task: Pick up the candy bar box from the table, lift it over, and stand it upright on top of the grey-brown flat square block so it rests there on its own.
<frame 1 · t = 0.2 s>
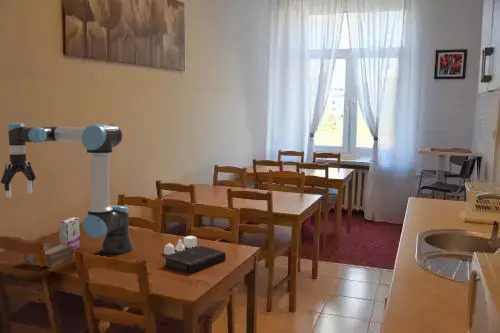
hand: (19, 195, 243), 28 cm above the table, tool pointing down, fingers open, 13 cm apart
container set: (179, 250, 245), on the table
diary: (194, 264, 225), on the table
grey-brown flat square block: (49, 260, 225), on the table
candy bar box: (70, 251, 241), on the table
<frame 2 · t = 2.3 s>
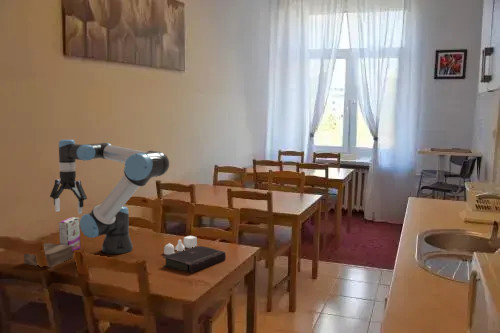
hand: (68, 212, 239), 20 cm above the table, tool pointing down, fingers open, 13 cm apart
nothing on the table moved.
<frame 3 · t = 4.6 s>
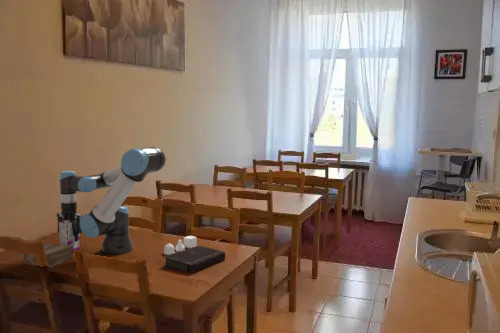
hand: (70, 246, 241), 2 cm above the table, tool pointing down, fingers closed on candy bar box, 5 cm apart
candy bar box: (70, 251, 241), on the table, touching gripper
everything else where it was.
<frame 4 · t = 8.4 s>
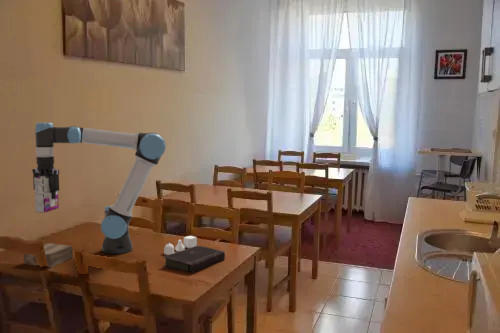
hand: (47, 205, 222), 27 cm above the table, tool pointing down, fingers closed on candy bar box, 5 cm apart
candy bar box: (47, 210, 223), point 24 cm above the table, touching gripper
everything else where it was.
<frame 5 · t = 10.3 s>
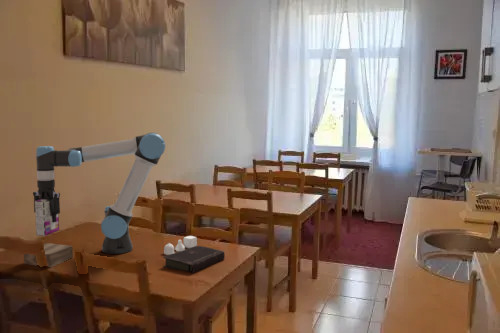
hand: (47, 228, 223), 16 cm above the table, tool pointing down, fingers closed on candy bar box, 5 cm apart
candy bar box: (47, 233, 224), point 13 cm above the table, touching gripper
everything else where it was.
when the fingers open (10 cm above the table, at t = 12.2 s): candy bar box drops 1 cm, resting on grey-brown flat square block.
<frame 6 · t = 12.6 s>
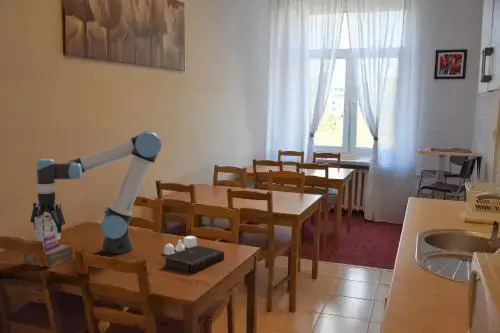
hand: (48, 238, 224), 11 cm above the table, tool pointing down, fingers open, 10 cm apart
candy bar box: (48, 248, 224), point 6 cm above the table, touching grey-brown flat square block
everything else where it was.
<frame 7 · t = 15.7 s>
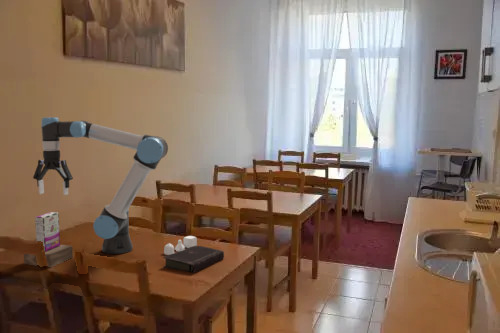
hand: (53, 194, 228), 31 cm above the table, tool pointing down, fingers open, 13 cm apart
nothing on the table moved.
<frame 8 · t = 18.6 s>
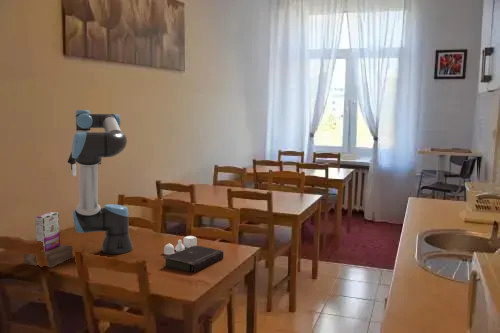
hand: (84, 176, 263), 35 cm above the table, tool pointing down, fingers open, 13 cm apart
at the end: candy bar box inside the target area on the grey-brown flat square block (0.1 cm from its centre), point 5.8 cm above the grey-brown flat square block's base; candy bar box tilted 0°; the gripper is holding nothing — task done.
